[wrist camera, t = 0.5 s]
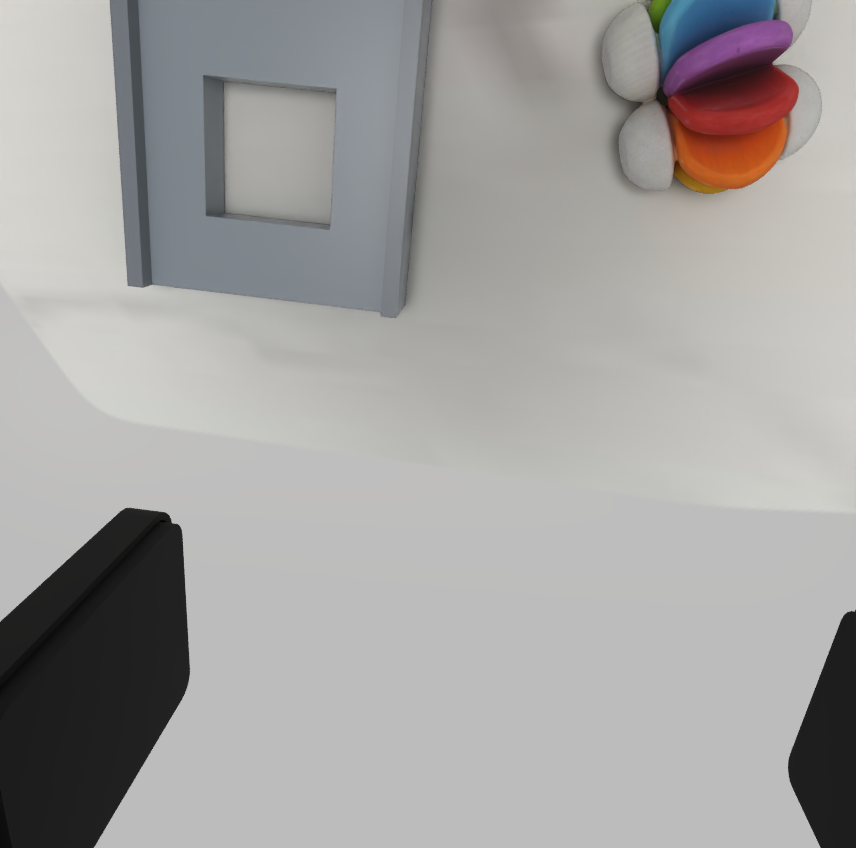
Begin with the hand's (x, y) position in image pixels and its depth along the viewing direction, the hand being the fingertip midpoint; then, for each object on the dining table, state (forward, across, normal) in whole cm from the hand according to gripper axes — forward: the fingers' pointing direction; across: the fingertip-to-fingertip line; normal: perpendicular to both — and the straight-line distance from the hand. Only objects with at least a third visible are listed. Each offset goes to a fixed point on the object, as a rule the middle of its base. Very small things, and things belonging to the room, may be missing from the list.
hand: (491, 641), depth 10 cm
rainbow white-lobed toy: (+29, -8, -11) cm, 32 cm away
